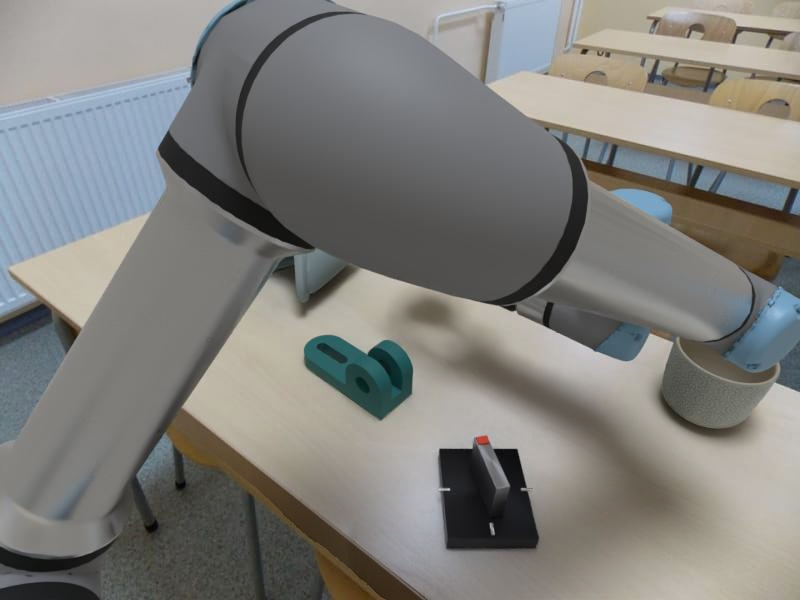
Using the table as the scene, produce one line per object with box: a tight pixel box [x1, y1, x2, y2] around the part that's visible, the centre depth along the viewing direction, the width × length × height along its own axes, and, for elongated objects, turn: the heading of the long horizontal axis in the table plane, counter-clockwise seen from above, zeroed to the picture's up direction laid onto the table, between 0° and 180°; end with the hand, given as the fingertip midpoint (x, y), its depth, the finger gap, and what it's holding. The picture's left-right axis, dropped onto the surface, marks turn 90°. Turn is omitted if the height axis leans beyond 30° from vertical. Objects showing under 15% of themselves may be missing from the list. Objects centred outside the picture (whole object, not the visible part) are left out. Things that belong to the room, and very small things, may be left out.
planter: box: [661, 336, 781, 430], centre depth 72 cm, size 12×12×11 cm
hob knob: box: [469, 434, 510, 518], centre depth 59 cm, size 7×2×6 cm, turn 13°
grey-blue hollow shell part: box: [274, 248, 350, 303], centre depth 96 cm, size 22×19×13 cm
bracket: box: [303, 334, 414, 421], centre depth 76 cm, size 18×7×8 cm, turn 49°
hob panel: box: [437, 447, 540, 550], centre depth 61 cm, size 12×11×2 cm
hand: (390, 229), depth 79 cm, fingers closed on mug, 3 cm apart
